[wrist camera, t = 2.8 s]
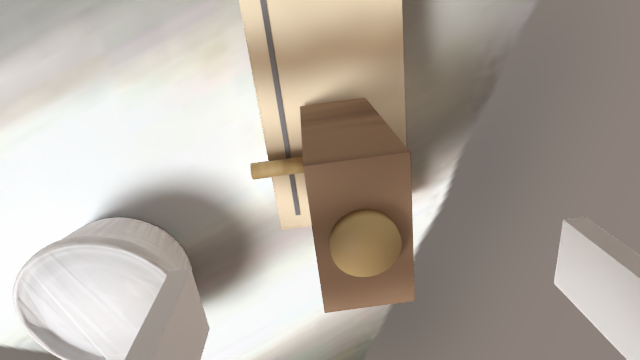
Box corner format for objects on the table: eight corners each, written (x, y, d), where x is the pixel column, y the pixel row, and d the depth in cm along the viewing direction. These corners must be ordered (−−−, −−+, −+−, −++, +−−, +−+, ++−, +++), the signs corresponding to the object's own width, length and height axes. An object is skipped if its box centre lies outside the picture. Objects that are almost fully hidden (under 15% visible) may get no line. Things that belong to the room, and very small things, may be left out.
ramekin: (33, 282, 31) (-16, 332, 26) (93, 175, 27) (50, 210, 23) (163, 340, 34) (141, 394, 29) (230, 250, 31) (218, 294, 26)
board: (208, -199, 20) (196, -227, 17) (382, -221, 20) (394, -252, 17) (282, 212, 29) (281, 230, 27) (399, 196, 29) (409, 212, 27)
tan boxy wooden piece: (242, 114, 23) (205, 185, 14) (365, 97, 23) (415, 157, 14) (263, 215, 26) (244, 333, 16) (372, 200, 26) (418, 310, 17)
